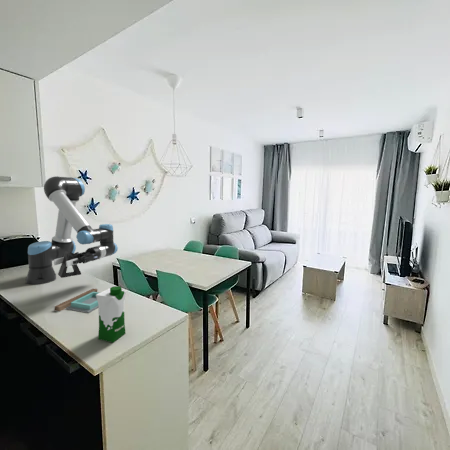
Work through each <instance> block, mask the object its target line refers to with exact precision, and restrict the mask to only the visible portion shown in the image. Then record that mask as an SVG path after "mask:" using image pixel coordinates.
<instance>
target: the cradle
mask: <svg viewBox="0 0 450 450" xmlns="http://www.w3.org/2000/svg"><path fill="white" fill-rule="evenodd" d="M98 293H100V292H98V291H97V292H91V293H89V294H87V295H85V296H83V297H81V298H79V299H77V300H75V301H73V302H71V305H70V306H68V307H66V309H65V310H70V311H76V312H82V313H87V314H90V313H91V312H93V311H95V310H97V309H99V305H98V301H97V297H96V294H98Z"/></svg>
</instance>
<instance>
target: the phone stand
mask: <svg viewBox="0 0 450 450" xmlns="http://www.w3.org/2000/svg"><path fill="white" fill-rule="evenodd" d="M69 252H70V251H69ZM69 252H67V251H65V252H64V259H63V263H61V264H60V267H59V270H58V273H57V276H58V277H60V278H62V279H63V278H69V277H73V276H74V277H75V276H80V275H82V272H81V270H80V269H79V266H78V264H75V265H72V266H71V267H72V269H73V271H70V272H67V271H68V267H66V261H69V260H72V259H74V254H73V253H72V252H70V254H69ZM68 254H69V256H68Z"/></svg>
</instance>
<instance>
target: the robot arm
mask: <svg viewBox="0 0 450 450" xmlns="http://www.w3.org/2000/svg"><path fill="white" fill-rule="evenodd" d="M85 187H86V186H85V184H84V183H83V181H82V180H81V179H79V178H76V177H68V176H58V175H57V176H55V175H54V176H51V177H49V178H48V179H46V181H45V182H44V185H43V191H44V194H45V196H46V198H47V199H48V201H50V202H53V204H54V205H55V206H56V207H57V209H58V213H57V221H56V228H55V234H54V236H52V238H51V241H49V240H43V241H36V242H33V243H31V244H29V245H28V247H27V259H28V260H27V261H28V271H27V274H26V275H27V276H26V277H25V283H26V284H28V285H41V284H46V283H47V284H48V283H51V282H53V281H55V280H56V279H57V273H56V272H55V269H54V267H53V266H58V265H61V264H62V263H63V259H64V252H65V251H67V252H69V251H70V252H72V253H73V254H74V259H72V260H69V261H66V267H67V268H68V267H72V265H75V264H77V265H78V264H86V263H89V262H94V261H97V260H101V259H102V258H105V257H111V256H112V255H114V254H116V253H117V252H118V249H119V247H118V245H117V244H116V243H115V242H114V227H113V224H111V223H102V224H100V225H99V226H98V228H92V226H91V225H90V223H88V221H87V220H86V218H85V217H84V216H83V215H82V214H81V212H80V211H79V210H78V209H77V207H76V204H77V202H79V201H80V197H82V196H83V195H84V194H85V190H86V188H85ZM73 229H74V231H75V232H76V233H77V234H76V236H75V237H76V241H77V242H78V243H79V245H91V244H93V243H99V245H96V246H93V247H88V248H87V249H86V250H85V251H82V252H79V251H77V252H76V249H77V245H76V243H75V241H74V239H73V238H72V231H73ZM70 252H69V254H70ZM69 254H68V256H69ZM50 281H51V282H50Z"/></svg>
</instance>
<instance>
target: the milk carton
mask: <svg viewBox="0 0 450 450" xmlns="http://www.w3.org/2000/svg"><path fill="white" fill-rule="evenodd" d="M126 295H127V290H125V289H122V286H118V285H117V286H116V285H115V286H112V287H109V288H107V289H105V290H103V291H101V292H99V293H98V294H96V297H97V301H98V305H99V308H98V336H97V339H98V340H101V341H104V342H109V343H113V344H114V343H115V342H117V341H118V340H119V339H120V338H122V337H123V336H124V335H126V326H125V325H126V323H125V300H126Z"/></svg>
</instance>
